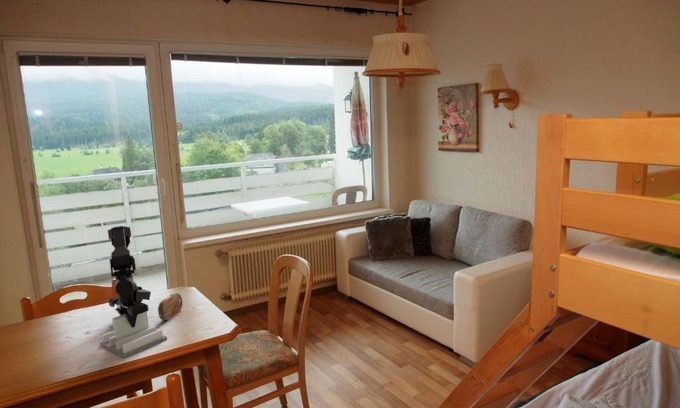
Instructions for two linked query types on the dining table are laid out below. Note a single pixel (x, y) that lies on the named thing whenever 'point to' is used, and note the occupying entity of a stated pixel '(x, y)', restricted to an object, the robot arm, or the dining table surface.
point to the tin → (170, 307)
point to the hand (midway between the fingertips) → (131, 326)
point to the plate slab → (125, 329)
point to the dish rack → (132, 341)
